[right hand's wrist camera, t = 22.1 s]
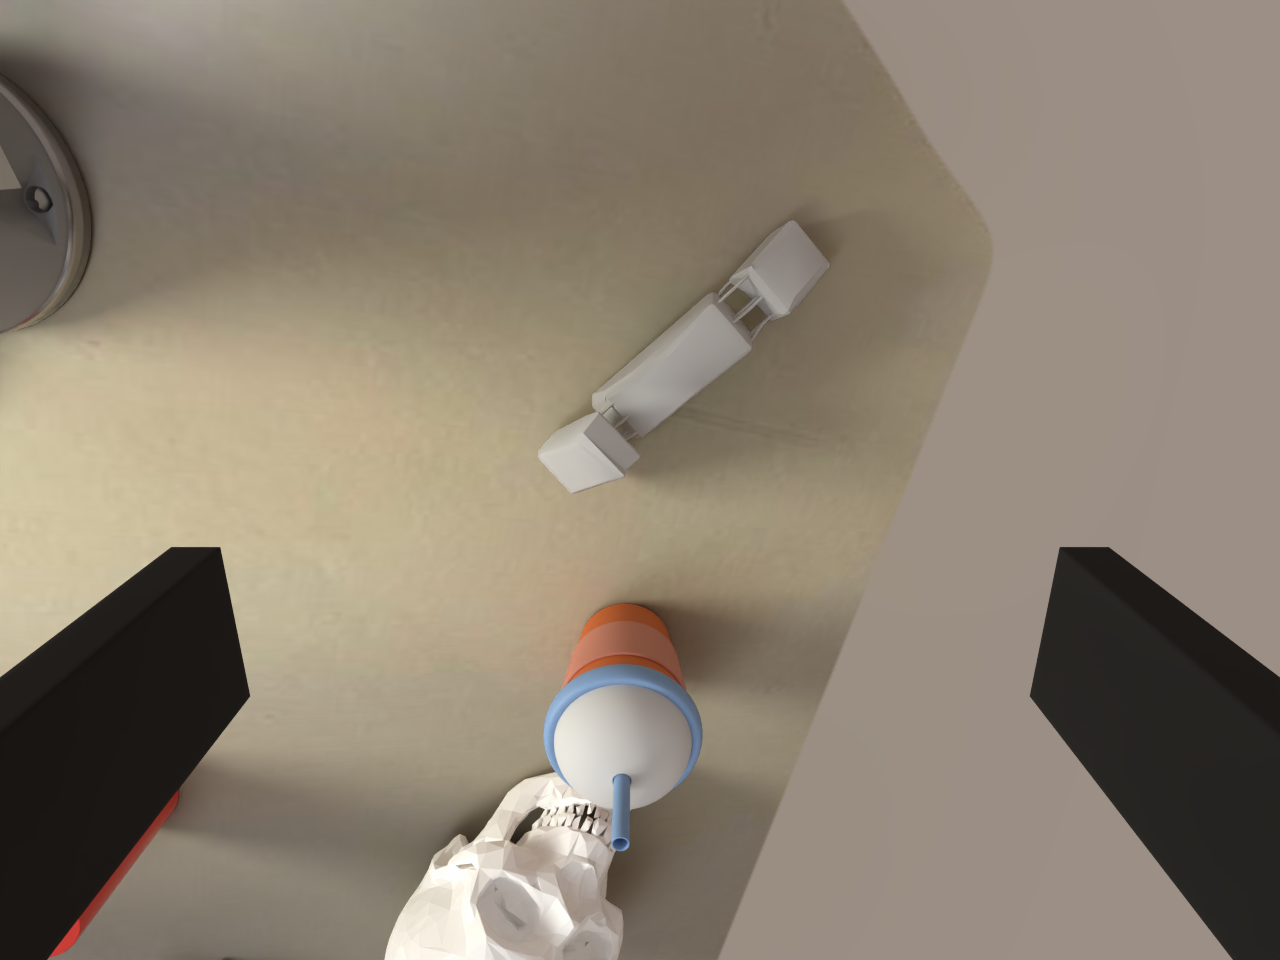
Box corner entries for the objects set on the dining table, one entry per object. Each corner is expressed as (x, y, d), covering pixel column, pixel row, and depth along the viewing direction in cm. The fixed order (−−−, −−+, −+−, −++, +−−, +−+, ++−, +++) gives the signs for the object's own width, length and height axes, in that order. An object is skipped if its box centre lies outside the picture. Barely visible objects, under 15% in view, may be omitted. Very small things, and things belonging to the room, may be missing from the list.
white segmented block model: (575, 489, 50) (576, 525, 44) (533, 447, 49) (527, 479, 43) (815, 267, 47) (854, 271, 41) (776, 219, 46) (810, 215, 40)
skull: (687, 795, 59) (696, 994, 44) (527, 967, 65) (487, 1194, 50) (539, 704, 57) (496, 882, 42) (387, 891, 63) (302, 1105, 48)
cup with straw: (716, 621, 54) (752, 817, 37) (648, 716, 57) (653, 940, 40) (600, 560, 52) (583, 736, 36) (536, 661, 55) (492, 870, 38)
